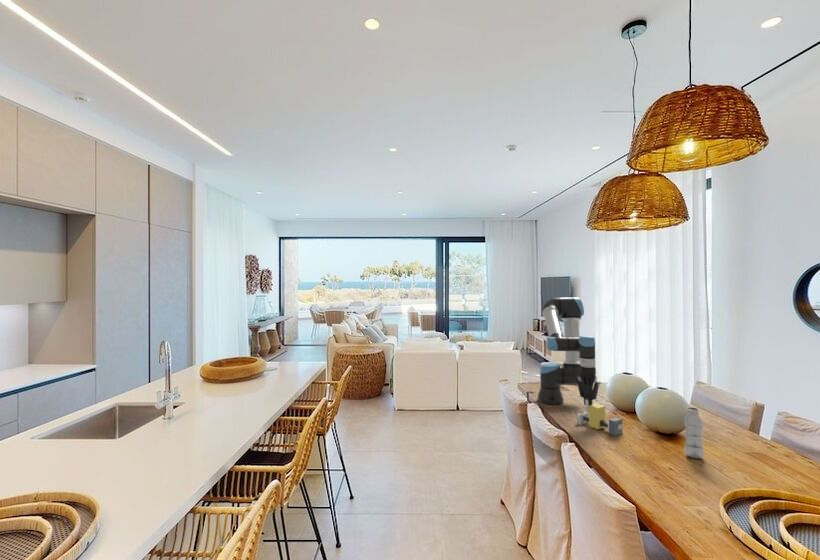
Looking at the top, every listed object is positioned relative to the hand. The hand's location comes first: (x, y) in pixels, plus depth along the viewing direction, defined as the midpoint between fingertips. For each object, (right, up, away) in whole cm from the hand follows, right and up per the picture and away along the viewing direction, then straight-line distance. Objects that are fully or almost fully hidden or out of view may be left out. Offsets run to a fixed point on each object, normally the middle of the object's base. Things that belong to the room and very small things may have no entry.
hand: (588, 412), depth 195 cm
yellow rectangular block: (+3, -7, -4) cm, 8 cm away
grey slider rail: (+3, -7, -5) cm, 9 cm away
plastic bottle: (+26, -6, -38) cm, 46 cm away
